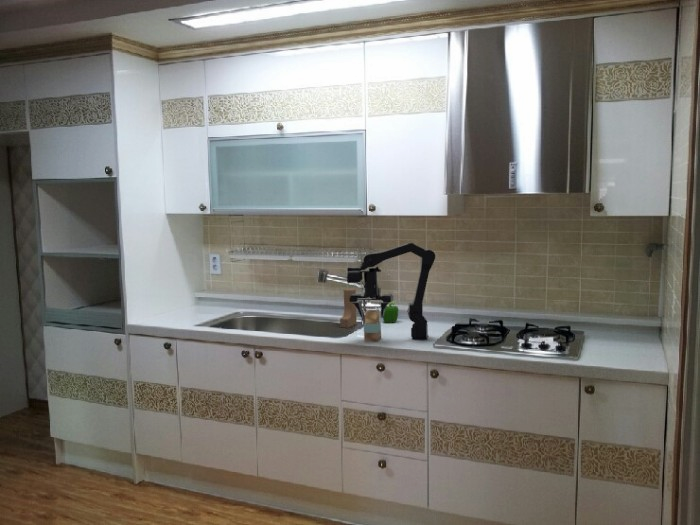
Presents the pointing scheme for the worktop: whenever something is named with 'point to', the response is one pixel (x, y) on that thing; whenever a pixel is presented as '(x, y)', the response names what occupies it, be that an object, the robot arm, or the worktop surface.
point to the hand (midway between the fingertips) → (372, 317)
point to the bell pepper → (390, 313)
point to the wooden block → (348, 310)
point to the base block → (372, 336)
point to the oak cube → (372, 316)
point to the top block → (372, 327)
